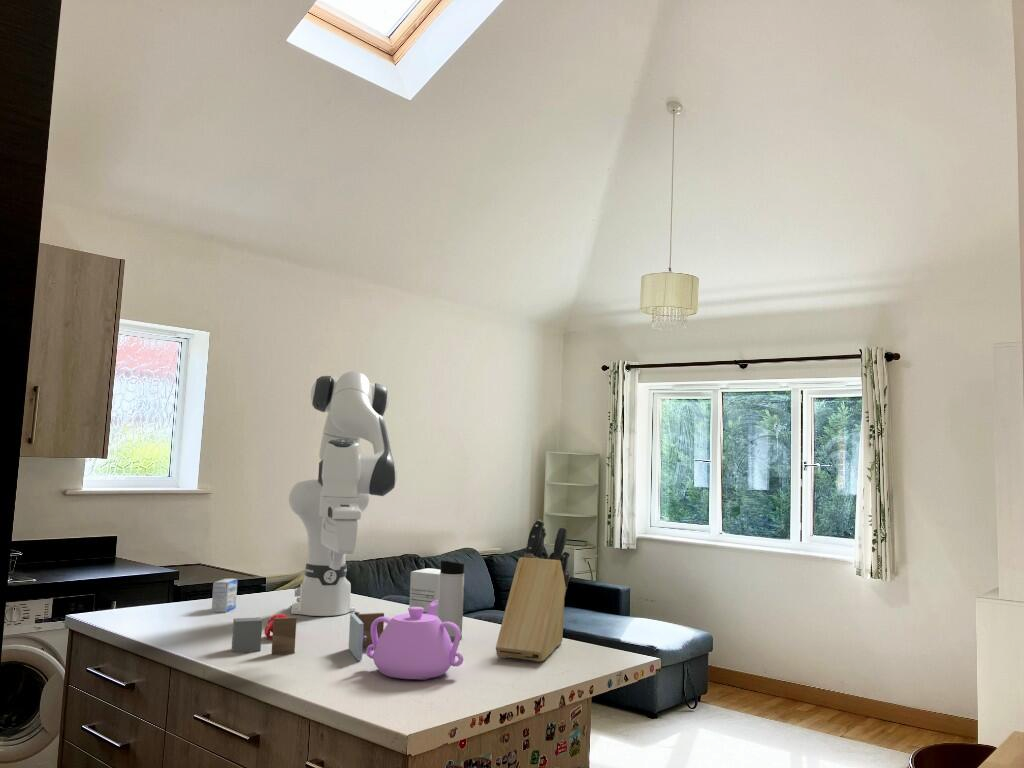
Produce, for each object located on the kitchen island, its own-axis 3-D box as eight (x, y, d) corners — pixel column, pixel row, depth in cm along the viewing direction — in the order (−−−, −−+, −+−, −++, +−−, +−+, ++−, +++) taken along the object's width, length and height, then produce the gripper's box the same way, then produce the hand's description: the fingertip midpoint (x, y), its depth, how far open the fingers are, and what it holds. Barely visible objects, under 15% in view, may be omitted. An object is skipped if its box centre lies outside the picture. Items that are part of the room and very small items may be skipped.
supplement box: (424, 620, 229) (426, 567, 230) (451, 624, 225) (453, 570, 226) (407, 626, 221) (409, 570, 222) (435, 629, 217) (437, 573, 218)
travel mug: (431, 638, 206) (434, 559, 208) (450, 635, 211) (453, 557, 213) (447, 642, 202) (451, 562, 204) (466, 639, 206) (469, 560, 208)
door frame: (271, 653, 184) (273, 615, 185) (381, 646, 195) (382, 610, 196) (272, 654, 183) (274, 616, 184) (382, 647, 194) (384, 611, 195)
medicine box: (226, 613, 231) (228, 582, 232) (210, 612, 231) (213, 581, 232) (236, 608, 239) (238, 578, 240) (221, 607, 239) (223, 578, 240)
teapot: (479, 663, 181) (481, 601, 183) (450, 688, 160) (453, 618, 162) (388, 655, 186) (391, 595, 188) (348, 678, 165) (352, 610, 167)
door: (347, 647, 191) (349, 613, 192) (357, 646, 192) (358, 612, 193) (357, 660, 179) (359, 623, 180) (367, 659, 180) (368, 623, 181)
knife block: (571, 636, 214) (574, 519, 218) (541, 666, 181) (545, 527, 184) (530, 632, 217) (534, 517, 221) (493, 661, 184) (498, 525, 187)
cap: (295, 627, 198) (297, 611, 203) (272, 620, 196) (275, 604, 201) (282, 650, 200) (285, 633, 206) (259, 643, 199) (262, 626, 204)
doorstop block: (231, 649, 187) (233, 618, 188) (258, 647, 190) (260, 617, 191) (233, 652, 184) (235, 621, 185) (260, 651, 186) (262, 620, 187)
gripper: (316, 505, 194) (312, 563, 193) (334, 512, 176) (330, 575, 174) (342, 506, 197) (338, 562, 196) (363, 512, 178) (359, 575, 177)
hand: (335, 569), depth 185 cm, fingers closed
